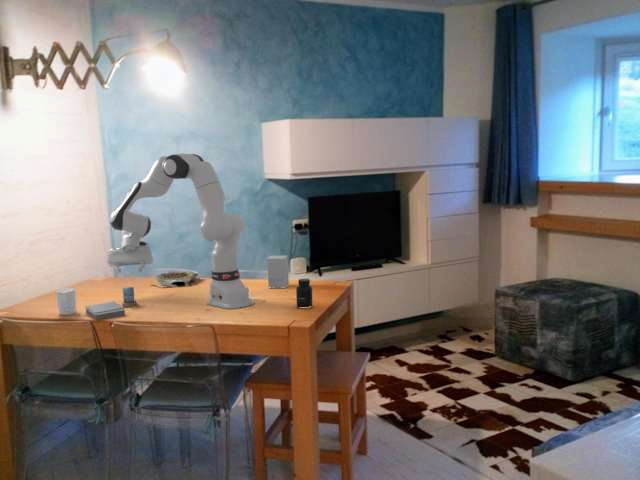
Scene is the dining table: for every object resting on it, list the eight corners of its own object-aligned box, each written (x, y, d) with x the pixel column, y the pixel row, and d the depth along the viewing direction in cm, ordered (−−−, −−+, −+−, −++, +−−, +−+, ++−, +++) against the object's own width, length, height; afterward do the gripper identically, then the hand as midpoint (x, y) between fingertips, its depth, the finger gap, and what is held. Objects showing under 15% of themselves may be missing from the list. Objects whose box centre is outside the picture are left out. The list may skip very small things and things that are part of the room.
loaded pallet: (124, 303, 268) (123, 286, 267) (136, 302, 269) (134, 286, 268) (122, 307, 262) (121, 290, 260) (134, 306, 262) (133, 289, 261)
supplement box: (289, 284, 297) (288, 255, 295) (286, 288, 288) (285, 258, 286) (271, 284, 298) (270, 255, 296) (268, 288, 289) (266, 258, 287)
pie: (141, 283, 312) (140, 274, 311) (187, 275, 330) (187, 267, 329) (166, 291, 291) (166, 281, 290) (214, 283, 309) (214, 273, 308)
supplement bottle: (298, 309, 248) (297, 281, 247) (295, 305, 255) (294, 278, 253) (314, 308, 250) (313, 280, 248) (310, 304, 257) (309, 277, 255)
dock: (125, 314, 249) (124, 307, 249) (95, 320, 242) (94, 312, 242) (114, 308, 261) (113, 301, 260) (85, 313, 254) (85, 306, 253)
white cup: (71, 309, 260) (69, 287, 259) (81, 312, 255) (79, 289, 254) (54, 313, 254) (52, 290, 253) (63, 316, 249) (61, 293, 248)
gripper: (106, 245, 277) (105, 269, 269) (151, 242, 281) (151, 266, 273) (108, 253, 282) (107, 277, 274) (153, 250, 286) (153, 274, 278)
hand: (129, 271), depth 274 cm, fingers open, 8 cm apart
